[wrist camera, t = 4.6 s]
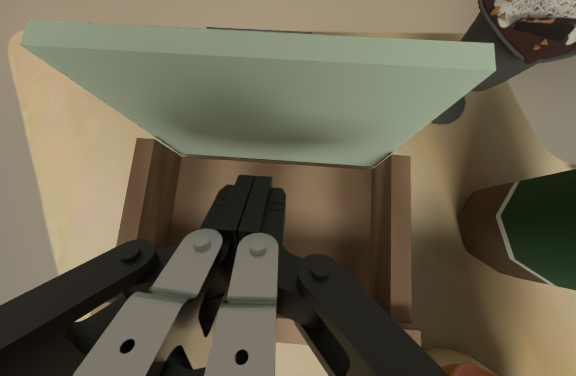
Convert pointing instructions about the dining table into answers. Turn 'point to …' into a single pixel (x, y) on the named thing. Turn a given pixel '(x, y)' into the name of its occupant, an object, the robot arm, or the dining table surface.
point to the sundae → (519, 39)
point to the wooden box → (288, 217)
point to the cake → (458, 363)
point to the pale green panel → (265, 86)
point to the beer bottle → (526, 228)
